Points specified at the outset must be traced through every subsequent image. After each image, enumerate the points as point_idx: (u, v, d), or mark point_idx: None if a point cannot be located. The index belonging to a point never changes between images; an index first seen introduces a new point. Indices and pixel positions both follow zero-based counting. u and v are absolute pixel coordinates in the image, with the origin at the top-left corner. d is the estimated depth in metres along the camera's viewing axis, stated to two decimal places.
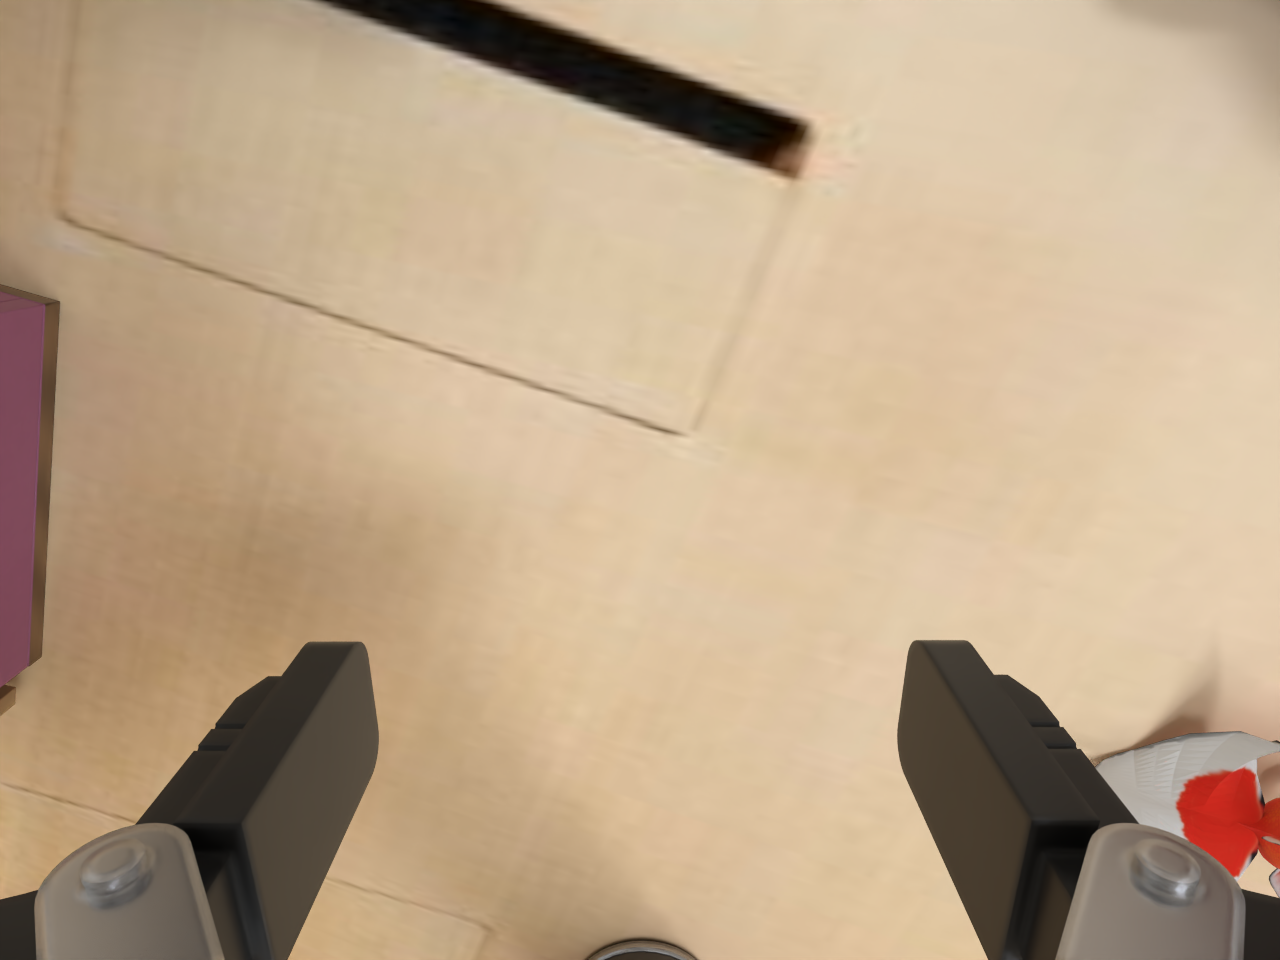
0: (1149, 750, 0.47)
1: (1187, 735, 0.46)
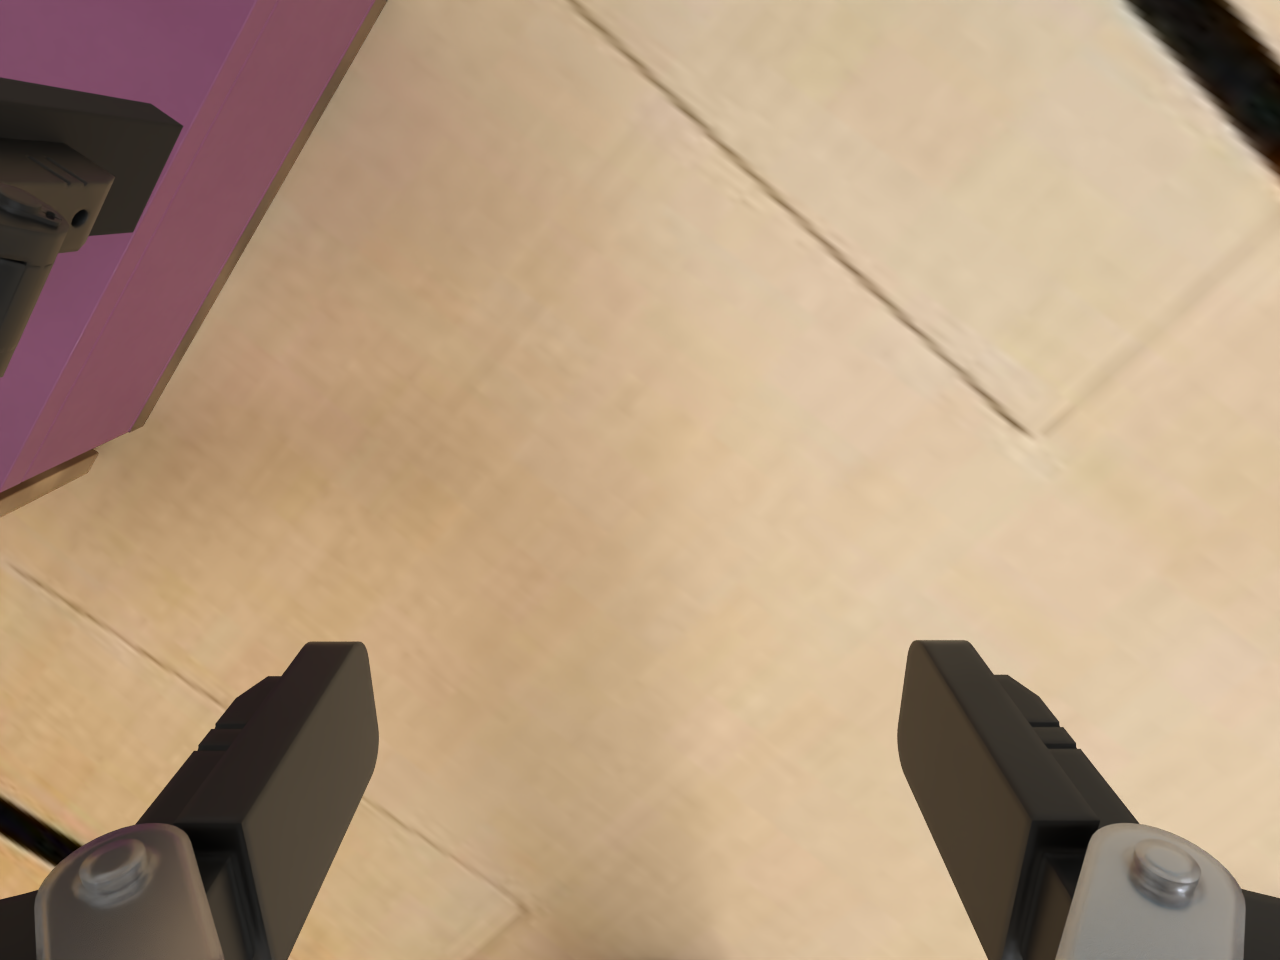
0: None
1: None
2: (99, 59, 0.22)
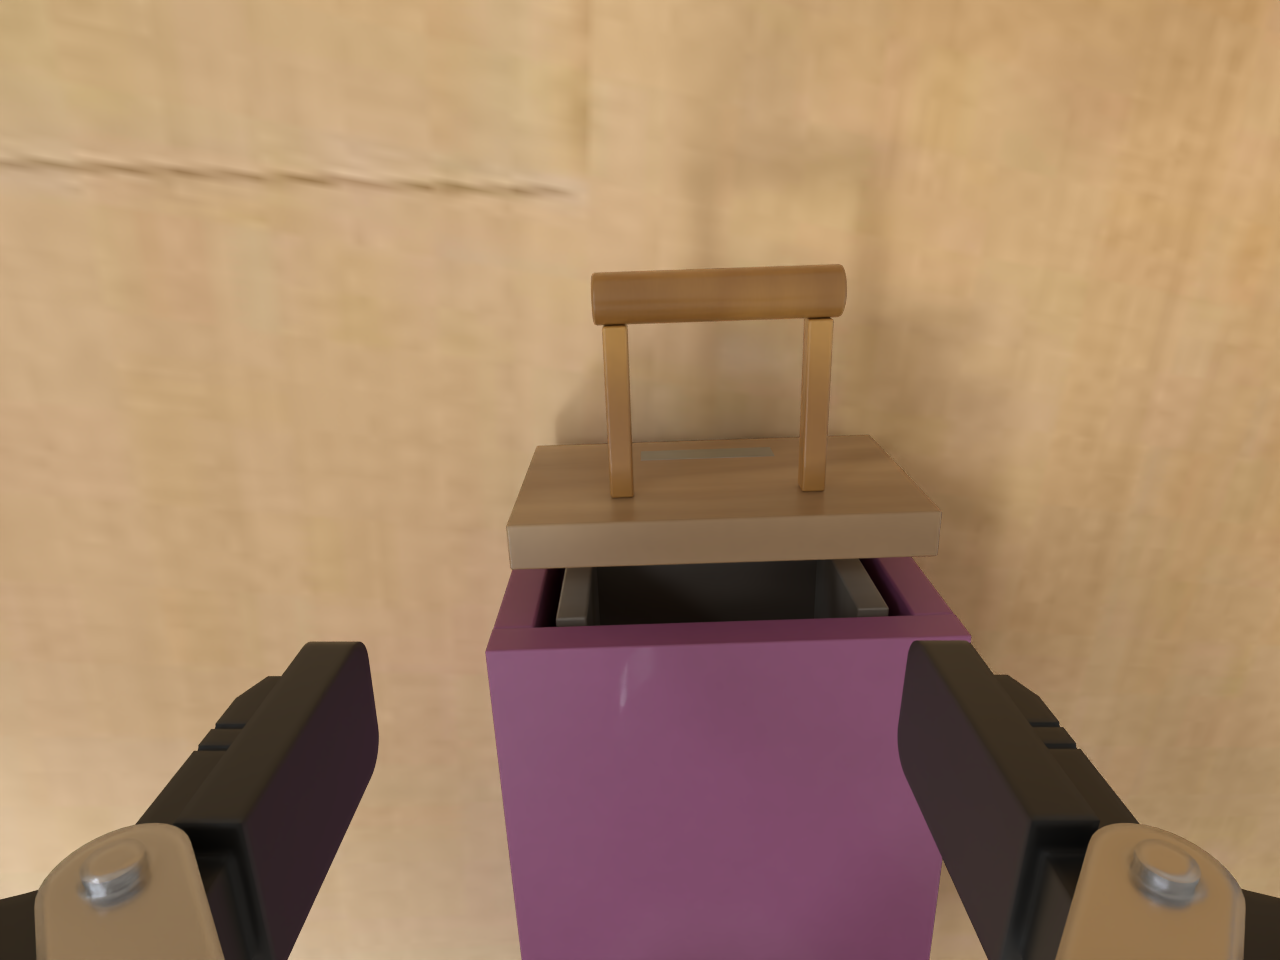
0: None
1: None
2: None
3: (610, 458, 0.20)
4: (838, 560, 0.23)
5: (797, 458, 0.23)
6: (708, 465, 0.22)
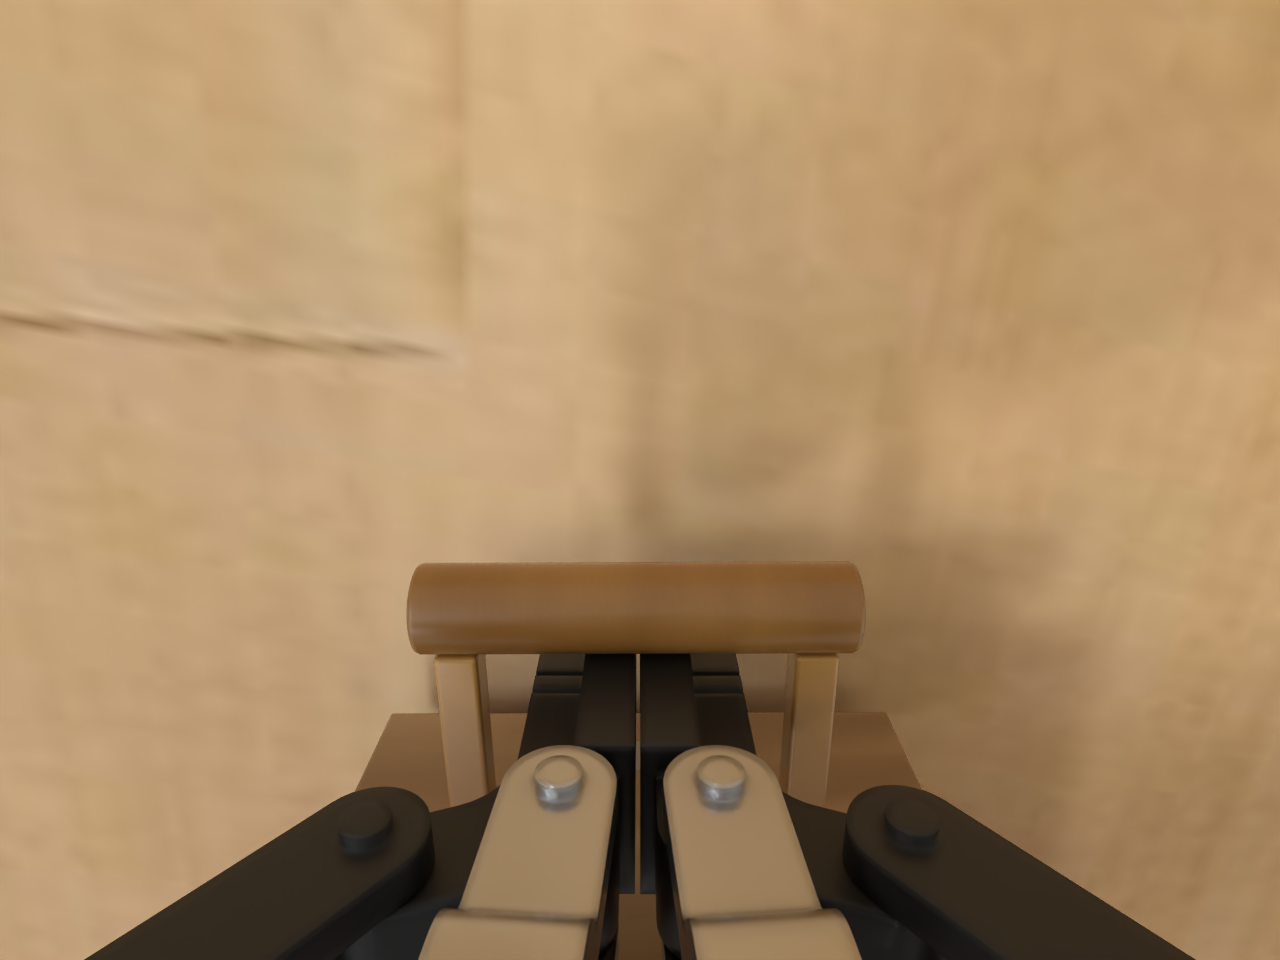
0: None
1: None
2: None
3: None
4: None
5: None
6: (636, 794, 0.14)
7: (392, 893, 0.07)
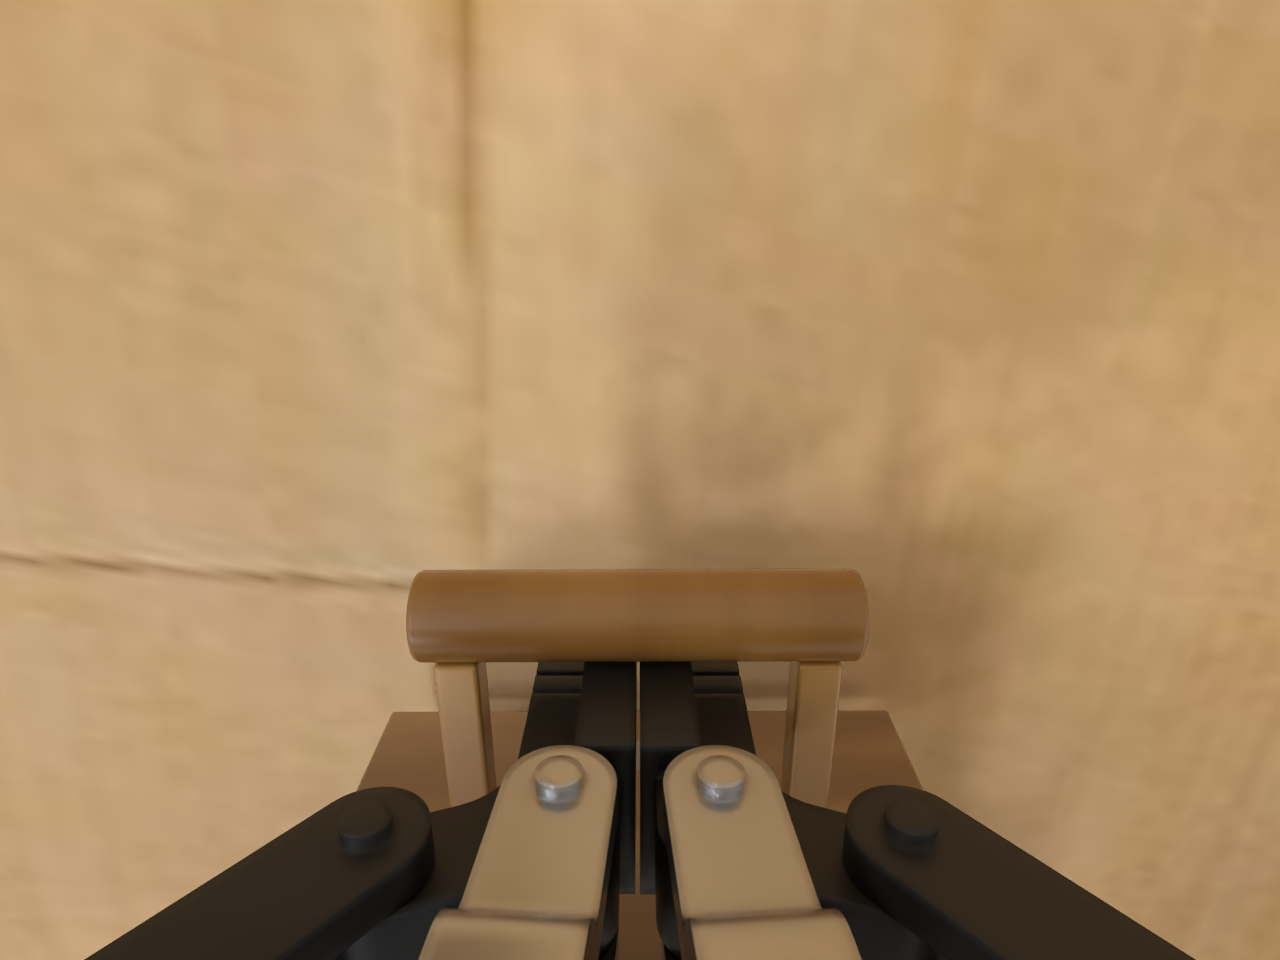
0: None
1: None
2: None
3: None
4: None
5: None
6: (637, 794, 0.14)
7: (392, 894, 0.07)
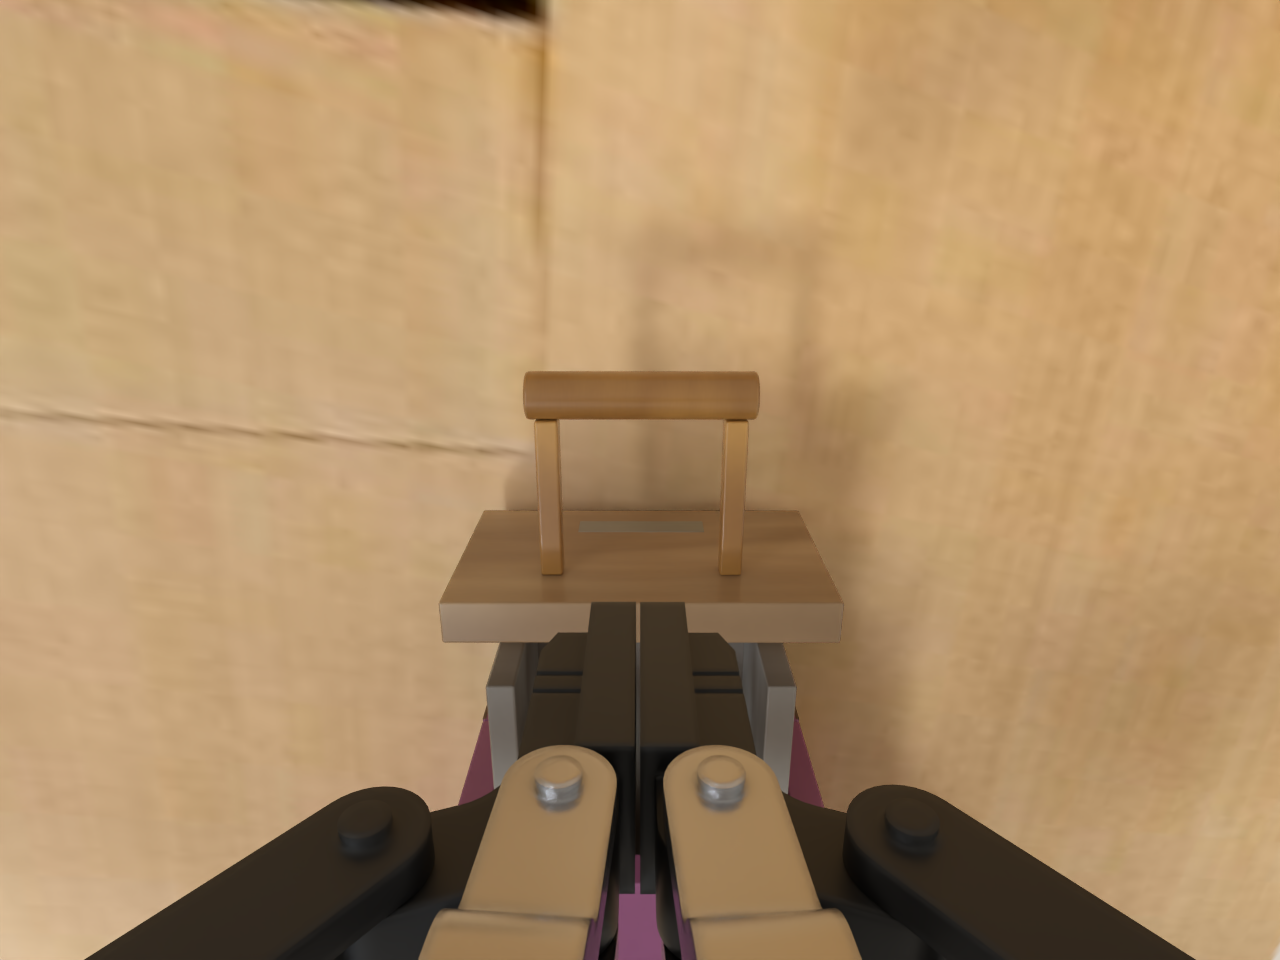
0: None
1: None
2: None
3: (541, 539, 0.21)
4: None
5: None
6: (640, 540, 0.24)
7: (392, 893, 0.07)
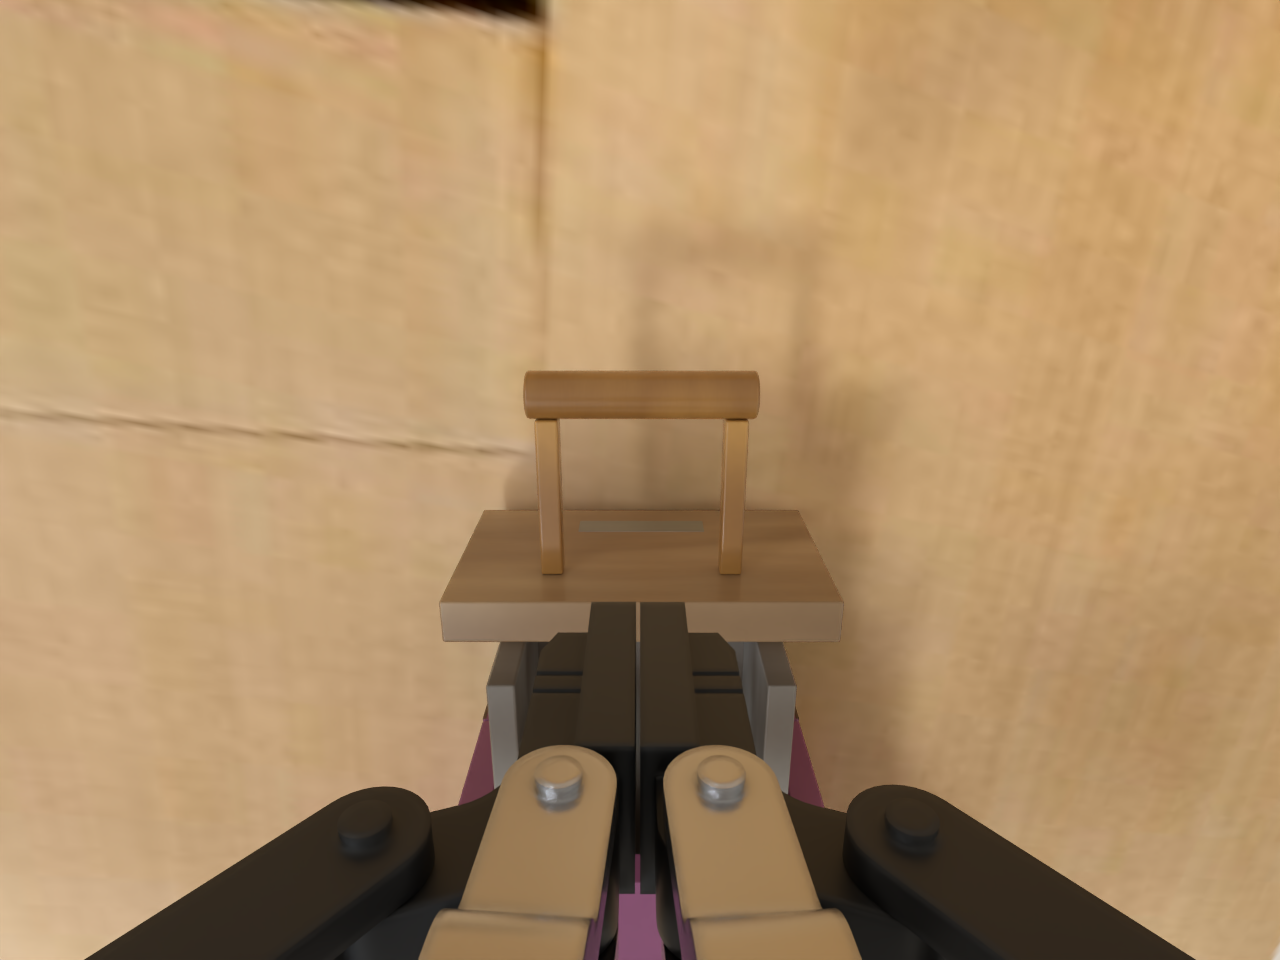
0: None
1: None
2: None
3: (541, 538, 0.21)
4: None
5: None
6: (640, 539, 0.24)
7: (392, 893, 0.07)
